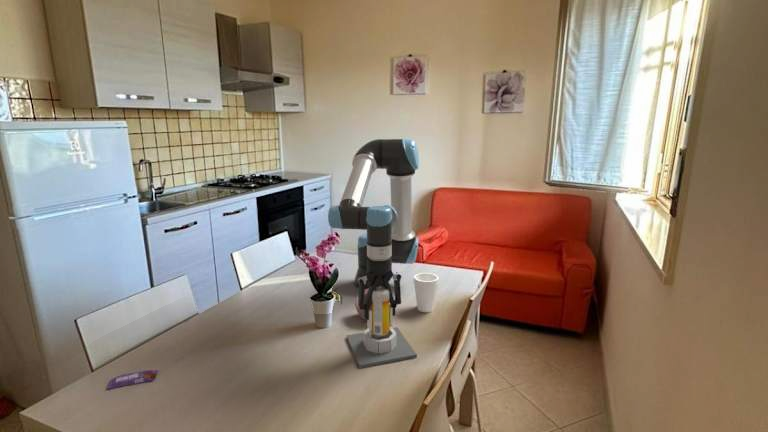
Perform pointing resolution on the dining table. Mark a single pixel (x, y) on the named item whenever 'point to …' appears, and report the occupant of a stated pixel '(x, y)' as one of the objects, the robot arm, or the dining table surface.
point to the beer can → (380, 311)
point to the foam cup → (425, 291)
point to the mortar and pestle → (361, 312)
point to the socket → (380, 348)
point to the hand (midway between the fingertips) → (379, 326)
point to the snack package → (132, 378)
